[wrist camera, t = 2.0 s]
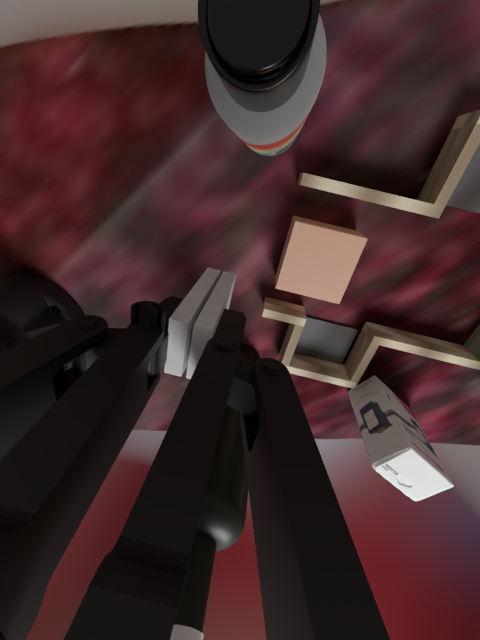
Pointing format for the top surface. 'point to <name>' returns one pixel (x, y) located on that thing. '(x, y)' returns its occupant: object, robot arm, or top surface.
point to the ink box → (397, 441)
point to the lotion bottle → (263, 66)
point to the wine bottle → (215, 521)
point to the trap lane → (335, 340)
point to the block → (318, 259)
